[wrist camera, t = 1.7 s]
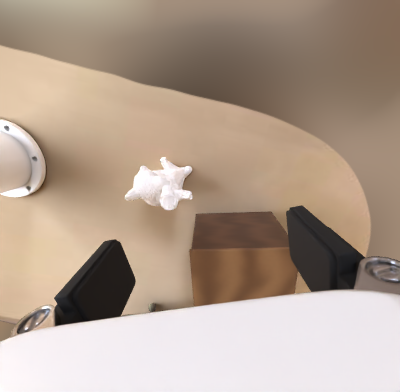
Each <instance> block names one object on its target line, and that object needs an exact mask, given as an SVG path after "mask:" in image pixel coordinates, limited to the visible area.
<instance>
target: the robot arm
mask: <svg viewBox="0 0 400 392" xmlns="http://www.w3.org/2000/svg"><path fill="white" fill-rule="evenodd" d="M45 174H46V165H45V160H44V157H43V154H42V152H41V150H40V148H39V146H38V145H37V143H36V142H35V140H34V139H33V138H32V137H31V136H30V135H29V134H28V133H27V132H26V131H25V130H23V129H22V128H21V127H19V126H17V125H16V124H14V123H11V122H9V121H7V120H2V119H0V194H2V195H5V196H9V197H21V196H25V195H28V194H31V193H33V192H35V191H36V190H37V189H39V188H40V186H41V185H42V183H43V181H44V179H45ZM286 216H287V227H288V239H289V251H290V257H291V260H292V262H293V263H294V265H295V266H296V268H297V270H298V271H299V273H300V274H301V276H302V278H303V279H304V281H305V283H306V284H307V286H308V287H309V289H310V291H311V292H306V293H296V294H289V295H281V296H273V297H265V298H258V299H250V300H242V301H234V302H227V303H219V304H212V305H204V306H196V307H189V308H181V309H174V310H167V311H159V312H152V313H145V314H137V315H130V316H123V317H120V316H121V314H122V312H123V310H124V308H125V305H126V303H127V301H128V299H129V297H130V294H131V292H132V290H133V288H134V286H135V277H134V274H133V272H132V269H131V267H130V265H129V262H128V260H127V257H126V255H125V253H124V250H123V248H122V245H121V243H120V242H119V241H117V240H109V241H105V242H103V244H102V245H101V246H100V247H99V248H98V249H97V250H96V251H95V253H94V254H93V255H92V256H91V257H90V258H89V259H88V260H87V262H86V263H85V264H84V265H83V266H82V267H81V268H80V269H79V271H78V272H77V273H76V274H75V275H74V276H73V277H72V278H71V280H70V281H69V282H68V283H67V284H66V285H65V286H64V287H63V289H62V290H61V291H60V292H59V293H58V294H57V295H56V296H55V298H54V299H55V301H56V302H57V305H56V307H55V308H54V306H53V305H44V306H41V307H39V308H37V309H35V310H33V311H32V312H30V313H28V314H27V315H26V316H25V317H23V318H22V319H21V320H20V321H19V322H18V323H17V324H16V325H15V327H14V328H13V330H12V332H11V336H10V338H9V339H6V340H4V341H1V342H0V392H400V261H398V260H395V259H391V258H387V257H379V256H378V257H377V256H376V257H375V256H374V257H368V258H365V257H364V256H363V255H362V254H360V253H359V252H358V251H357V250H356V249H354V248H353V247H352V246H351V245H350V244H348V243H347V242H346V241H345V240H344V239H343V238H341V237H340V236H339V235H338V234H337V233H335V232H334V231H333V230H332V229H331V228H329V227H327V226H326V225H324V224H323V223H322V222H321V221H320V220H319V219H317V218H316V217H315V216H314V215H313V214H312V213H310V212H309V211H308V210H307V209H306V208H305V207H303V206H296V207H291V208H290V210H289V211H287V212H286Z"/></svg>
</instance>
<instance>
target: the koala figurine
mask: <svg viewBox="0 0 400 392" xmlns="http://www.w3.org/2000/svg"><path fill="white" fill-rule="evenodd" d="M160 162H161V164H162V166H163V168H164V169H165V170H156V171H151V170H149V169H148V168H147V167H146V166H144V165H143V166H141V167H140V171H139V172H138V174H137V175H136V176H135V177H134V187H133V188H132V189H131V190H129V192H128V193H127V194H126V195H125V200H129V201H131V200H136V199H140V198H142V199H143V200H144V201H145V202H146V203H147V204H149V205H152V206H162V207H163V208H164V209H165V210H173V209H175V208H176V207H177V205H178V201H179V200H183V199H189V200H192V198H193V197H192V192H191V191H187V190H182V188H183V182H184V179H185V178H186V177H187V176H188V175H189V174H190V173H191V172H192V167H191V166H186V167H180V168H179V167H177V166H175V165H173V164H172V163H171V162H169V161H168V160H167V159H166V158H165V157H163V158H161V160H160Z"/></svg>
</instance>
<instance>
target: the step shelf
mask: <svg viewBox="0 0 400 392" xmlns="http://www.w3.org/2000/svg"><path fill="white" fill-rule="evenodd" d="M190 263H191V275H192V287H193V299H194V307H196V306H204V305H212V304H219V303H227V302H234V301H242V300H250V299H258V298H265V297H273V296H281V295H289V294H294V293H295V286H296V279H297V272H298V270H297V268H296V266H295V265H294V263H293V262H292V260H291V257H290V251H289V239H288V234H287V233H286V231H285V230H284V228H283V227H282V226H281V224H280V223H279V222H278V220H277V219H276V217H275V216H274V215H273V213H272V212H247V213H214V214H196V221H195V228H194V235H193V243H192V249H190Z"/></svg>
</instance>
